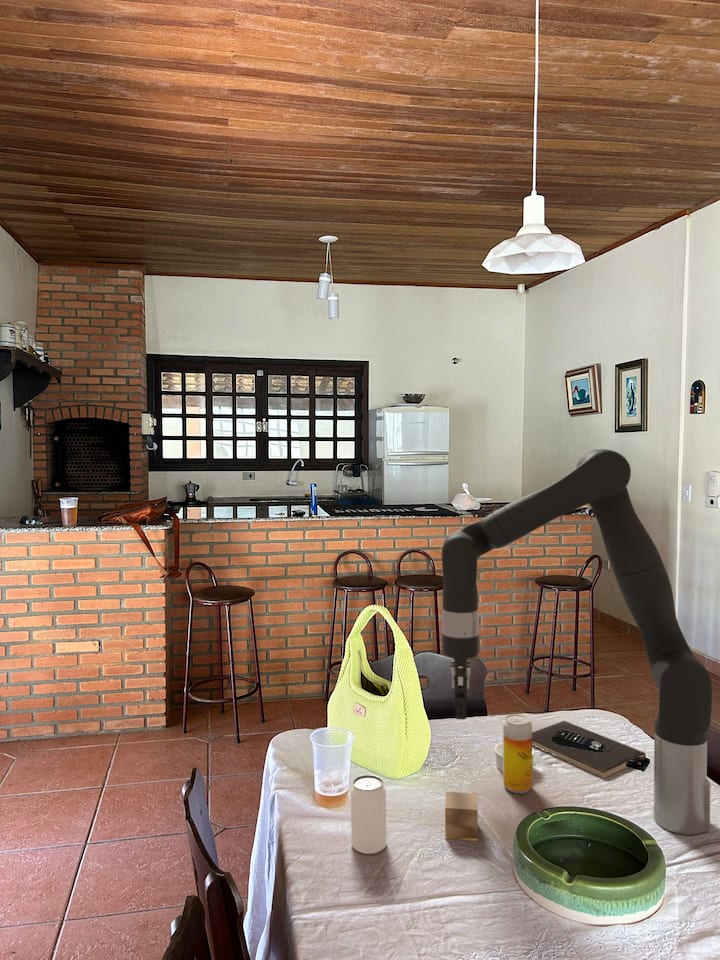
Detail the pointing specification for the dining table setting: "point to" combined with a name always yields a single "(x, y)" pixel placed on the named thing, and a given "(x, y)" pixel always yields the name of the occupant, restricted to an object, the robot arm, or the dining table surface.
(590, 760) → the hardcover book
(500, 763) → the ramekin
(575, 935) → the dining table surface
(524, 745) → the beer can
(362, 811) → the can
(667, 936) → the dining table surface
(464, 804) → the cube
